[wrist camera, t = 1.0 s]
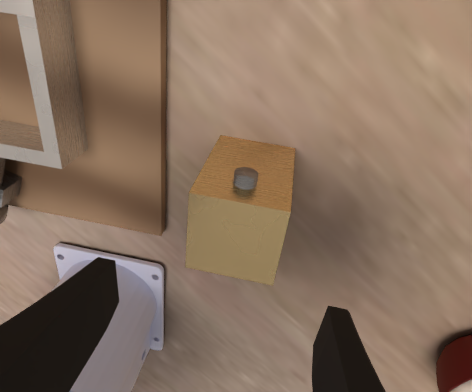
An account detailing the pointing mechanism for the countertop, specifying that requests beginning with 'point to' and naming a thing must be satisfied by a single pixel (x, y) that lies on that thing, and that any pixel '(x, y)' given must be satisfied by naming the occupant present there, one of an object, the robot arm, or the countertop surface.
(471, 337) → the cocoa
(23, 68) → the walnut base plate
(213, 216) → the wooden block
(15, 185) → the shaft
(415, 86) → the countertop surface
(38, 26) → the hollow square frame
